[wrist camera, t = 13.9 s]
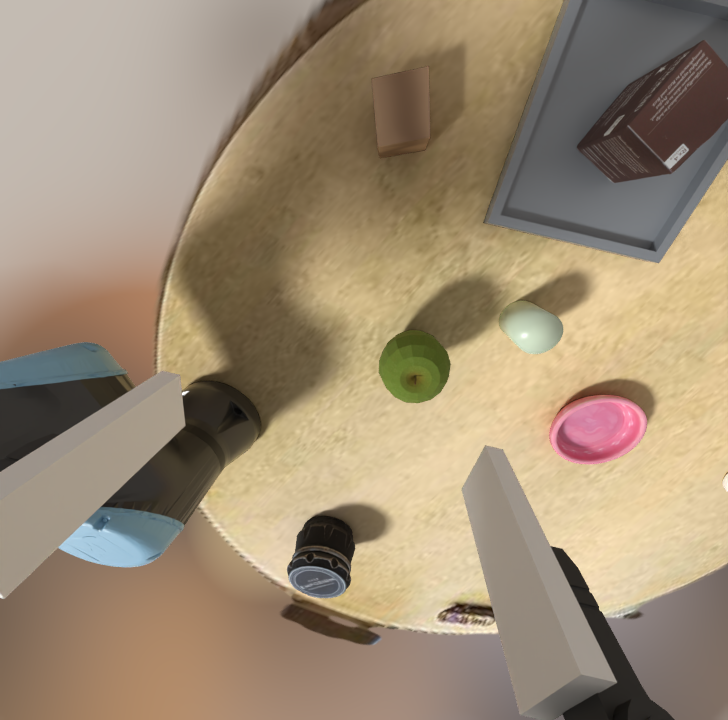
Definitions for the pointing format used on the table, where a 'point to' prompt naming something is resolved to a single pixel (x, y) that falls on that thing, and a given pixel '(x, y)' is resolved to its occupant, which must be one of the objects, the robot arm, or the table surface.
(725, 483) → the pill bottle
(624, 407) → the pink shallow round dish
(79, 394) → the robot arm
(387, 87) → the walnut block
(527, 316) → the sage canister
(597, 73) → the tray
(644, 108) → the box
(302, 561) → the container
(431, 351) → the apple
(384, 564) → the table surface
